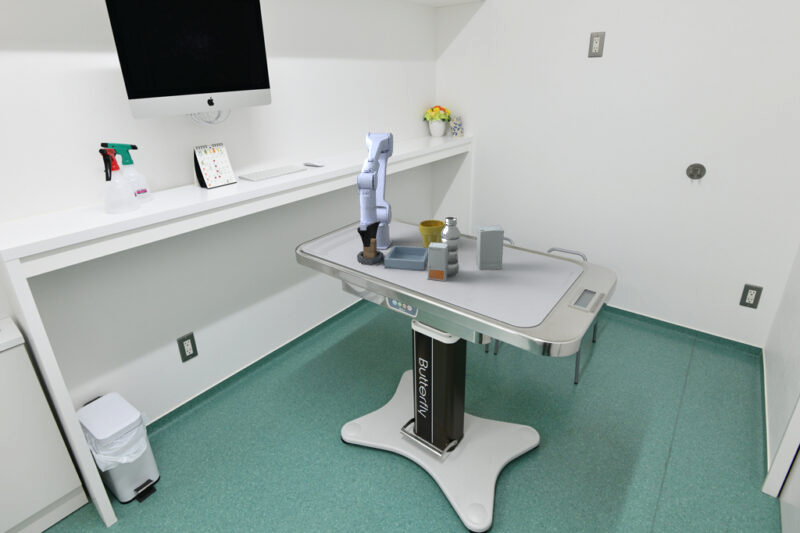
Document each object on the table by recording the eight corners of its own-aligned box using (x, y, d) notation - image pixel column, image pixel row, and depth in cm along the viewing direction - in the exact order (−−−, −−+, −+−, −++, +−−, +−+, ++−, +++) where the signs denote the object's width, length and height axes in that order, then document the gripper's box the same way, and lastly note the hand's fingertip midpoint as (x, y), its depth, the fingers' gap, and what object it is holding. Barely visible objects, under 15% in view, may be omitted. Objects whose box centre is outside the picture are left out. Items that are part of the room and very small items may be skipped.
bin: (393, 254, 174) (393, 245, 172) (429, 256, 171) (430, 247, 169) (384, 268, 161) (384, 258, 160) (423, 271, 158) (423, 261, 157)
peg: (367, 258, 170) (366, 238, 167) (377, 259, 169) (376, 238, 166) (363, 262, 167) (362, 241, 163) (374, 263, 166) (373, 242, 163)
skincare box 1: (427, 279, 151) (427, 246, 147) (430, 274, 155) (430, 241, 150) (445, 281, 150) (446, 248, 145) (447, 276, 153) (448, 243, 149)
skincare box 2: (498, 263, 164) (501, 224, 158) (502, 270, 158) (505, 229, 152) (475, 264, 163) (477, 224, 158) (478, 270, 158) (480, 230, 152)
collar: (362, 255, 173) (362, 249, 172) (385, 256, 171) (385, 250, 170) (355, 264, 165) (354, 257, 164) (379, 266, 163) (378, 259, 162)
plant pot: (413, 245, 182) (413, 222, 178) (434, 240, 187) (434, 217, 184) (429, 253, 174) (429, 228, 170) (450, 247, 179) (451, 224, 176)
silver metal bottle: (445, 269, 159) (446, 214, 151) (462, 273, 156) (464, 217, 148) (435, 275, 154) (436, 219, 147) (453, 280, 151) (455, 222, 143)
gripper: (373, 213, 153) (374, 250, 158) (384, 202, 166) (385, 237, 171) (353, 212, 154) (355, 249, 159) (366, 201, 167) (367, 236, 172)
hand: (369, 243), depth 165 cm, fingers open, 7 cm apart
